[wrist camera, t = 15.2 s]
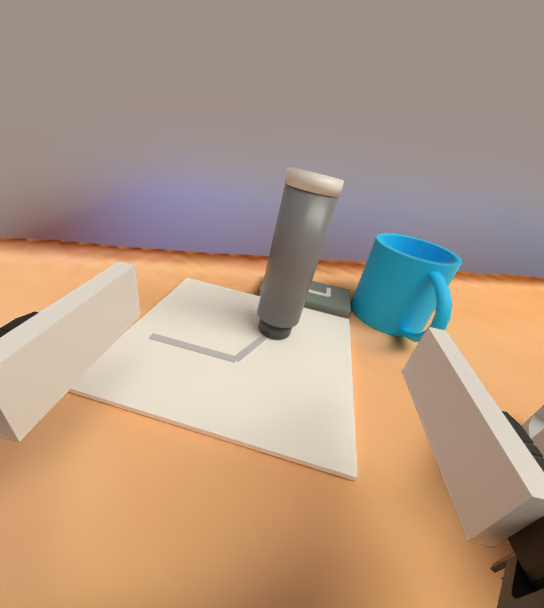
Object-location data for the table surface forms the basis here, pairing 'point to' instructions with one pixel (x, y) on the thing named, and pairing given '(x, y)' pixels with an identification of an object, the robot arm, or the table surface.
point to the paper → (236, 376)
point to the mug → (405, 286)
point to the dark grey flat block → (326, 299)
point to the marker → (296, 249)
